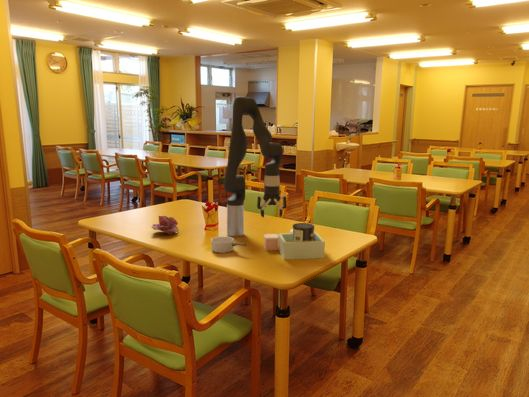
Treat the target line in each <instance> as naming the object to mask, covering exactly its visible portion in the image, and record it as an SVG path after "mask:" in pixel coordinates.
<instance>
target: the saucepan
mask: <svg viewBox="0 0 529 397" xmlns="http://www.w3.org/2000/svg"><path fill="white" fill-rule="evenodd" d="M210 241H211V250H212V251H213V252H215V253H217V252H219V254H226V253H225V252H227V253H230V252H231V251H233V250H234V247H236V246H241V247H247V246H248V244H247V243H246V244H245V243H241V242H234V241H235V237H233V236H227V235H226V236H225V235H224V236H222V235H220V236H214V237H211V239H210Z"/></svg>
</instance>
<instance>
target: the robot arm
mask: <svg viewBox="0 0 529 397" xmlns="http://www.w3.org/2000/svg"><path fill="white" fill-rule="evenodd" d="M243 116H250V118H251V119H252V121H253V122H252V123H253V125H252V132H253V134H254V136H255V138H256V140H257V141H258V144H259V148H260V153H261V155H262V156H263V157H264V158H266V159H271V160H270V161H269V162H267V163H265V165H264V179H263V181H264V182H263V184H264V185H263V186H264V187H263V196H259V195H258V196H257V201H256V202H257V203H256V208H257V209H258V210H260V217H262V218H265V208H266V207H267V206H277V207H278V208H279V209H278V216H279V218H282V217H283V213H284V212H283V210H284V209H287V197H286V196H285V195H280V193H281V191H280V190H281V189H280V188H281V187H280V186H281V185H280V184H281V180H280V166H281V163H282V158H283V155H284V147H283V145H282V144H281V143H280V142H272V141H273V136H272V133H270V130H269V129H268V127H267V126H266V124H265V122H264V120H263V117H262V113H261V111H260V109H259V106H258V104H257V102H256V100H255V98H254V97H251V96H235V98H234V99H233V104H232V119H231V120H232V123H231V124H232V125H231V135H230V141H229V150H228V157H227V163H226V170H225V174H224V179H223V189H224V191H225V192H226V193H228V194H231V196H230V197H228V198H227V199H226V237H233V238H235V237H242V236H244V235H245V233H244V232H245V223H244V222H245V217H244V216H245V214H244V213H245V211H244V209H245V205H244V202H245V200H246V189H247V188H246V184H247V183H246V179H245V177H244V176H243V175H242V174H237V173H238V169H239V167H240V165H241V163H242V162H243V161H244V159H245V157H246V155H247V150H248V143H249V142H248V136H247V134H246V131H245V130H244V127H243ZM280 200H281V201H282V205H281V203H280V202H279V201H280ZM263 201H264V202H263ZM261 202H263V203H262V205H261Z"/></svg>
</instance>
